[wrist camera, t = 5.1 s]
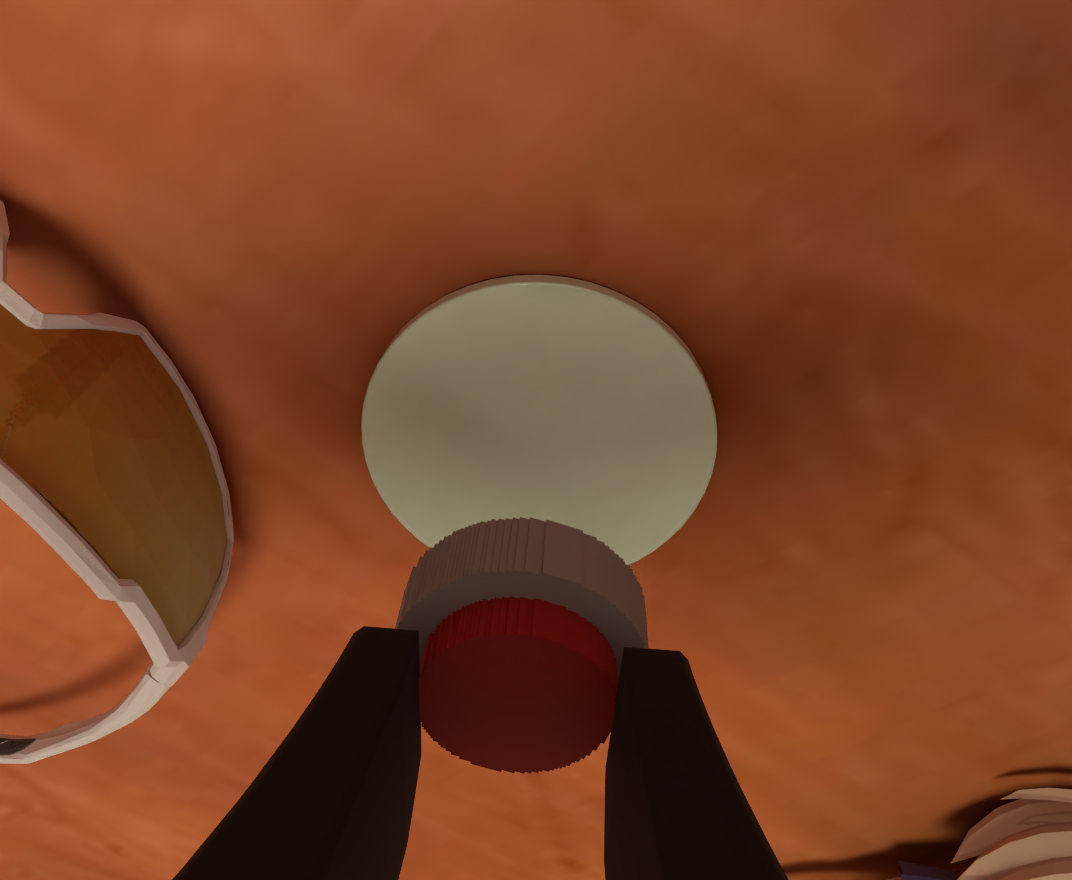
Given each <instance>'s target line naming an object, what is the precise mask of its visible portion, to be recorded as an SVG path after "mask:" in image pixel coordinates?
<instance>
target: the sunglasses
mask: <svg viewBox="0 0 1072 880" xmlns="http://www.w3.org/2000/svg"><path fill="white" fill-rule="evenodd" d="M9 235H10V231H9V226H8V221H7V216H6V211H5V205H4V203H3V202H2V201H1V200H0V498H1V499H2V500H3V501H4V502H5V503H6V504H7V505H8V506H9V507H10V508H11V509H13V510H14V511H15V512H16V513H17V514H18V515H19V516H20V517H21V518H22V519H23V520H25V521H26V522H27V523H28V524H29V525H30V526H31V527H32V528H33V529H34V530H35V531H36V532H37V533H38V534H39V535H40V536H41V537H42V538H43V539H44V540H45V541H46V542H47V543H48V544H49V545H50V546H51V547H52V548H53V549H54V550H55V551H56V552H57V553H58V554H59V555H60V557H61V558H62V559H63V560H64V561H65V562H66V563H67V564H68V565H69V566H70V567H71V568H72V569H73V570H74V571H75V572H76V573H77V574H78V575H79V576H80V577H81V578H82V579H83V580H84V581H85V582H86V583H87V585H88V586H89V587H90V588H91V589H92V591H93V592H94V593H95V594H96V595H97V597H98V598H99V599H104V600H112V601H116V603H117V604H118V605H119V607H120V608H121V610H122V611H123V612H124V614H125V615H126V617H127V618H128V619H129V621H130V622H131V624H132V625H133V626H134V628H135V629H136V631H137V633H138V635H139V637H140V639H141V640H142V642H143V644H144V646H145V648H146V650H147V651H148V653H149V655H150V657H151V659H152V661H153V662H152V663H151V665H150V666H149V668H148V669H147V670H146V672H145V673H144V674H143V676H142V677H141V679H140V680H139V681H138V683H137V684H136V685H135V687H134V688H133V689H132V691H131V692H130V693H129V694H128V695H127V696H126V698H124V699H123V700H122V701H121V702H120V703H118V704H117V705H116V706H115V707H114V708H112V709H111V710H110V711H108V712H106V713H103V714H101V715H98V716H95V717H92V718H89V719H87V720H82V721H77V722H71V723H69V724H66V725H64V726H61V727H59V728H56V729H54V730H52V731H49V732H45V733H41V734H36V735H32V736H28V737H27V736H15V735H4V734H0V763H1V764H29V763H32V762H35V761H38V760H41V759H44V758H47V757H50V756H53V755H56V754H59V753H62V752H65V751H68V750H71V749H74V748H77V747H80V746H83V745H86V744H88V743H90V742H93V741H95V740H97V739H99V738H101V737H103V736H105V735H107V734H109V733H111V732H113V731H115V730H117V729H119V728H121V727H123V726H125V725H127V724H129V723H131V722H133V721H134V720H136V719H137V718H139V717H140V716H142V715H143V714H145V713H146V712H147V711H148V710H149V709H150V708H151V707H152V706H153V705H154V704H155V703H156V702H158V700H159V699H160V698H161V697H162V696H163V695H164V693H165V692H166V691H167V690H168V689H169V688H170V686H172V685H173V684H174V683H175V682H176V681H177V680H178V679H179V677H180V676H181V675H182V674H183V673H184V672H185V671H186V670H187V669H188V667H189V666H190V665H191V663H192V662H193V660H194V659H195V657H196V656H197V654H198V653H199V651H200V650H201V648H202V647H203V645H204V644H205V642H206V637H207V630H208V627H209V625H210V622H211V620H212V617H213V615H214V612H215V610H216V607H217V605H218V602H219V600H220V598H221V595H222V593H223V590H224V588H225V585H226V583H227V580H228V574H229V568H230V562H231V556H232V550H233V544H234V529H233V520H232V512H231V503H230V494H229V490H228V486H227V483H226V479H225V476H224V472H223V469H222V465H221V462H220V458H219V455H218V451H217V447H216V444H215V442H214V440H213V437H212V435H211V433H210V431H209V428H208V426H207V424H206V422H205V420H204V417H203V415H202V413H201V411H200V409H199V406H198V404H197V402H196V400H195V398H194V396H193V394H192V393H191V391H190V390H189V388H188V386H187V385H186V383H185V382H184V380H183V378H182V377H181V375H180V374H179V372H178V370H177V369H176V367H175V366H174V364H173V362H172V361H171V360H170V358H169V357H168V356H167V354H166V353H165V352H164V351H163V349H162V348H161V347H160V345H159V344H158V343H157V342H156V340H155V339H154V338H153V337H152V335H151V334H150V333H149V331H148V330H147V329H146V328H145V327H144V326H142V325H141V324H140V323H138V322H137V321H134V320H130V319H126V318H121V317H117V316H113V315H109V314H104V313H96V314H91V315H77V314H57V313H42V312H40V311H39V310H38V309H37V308H36V307H35V306H33V305H32V304H31V303H30V302H29V301H28V300H26V299H25V298H24V297H23V296H22V295H20V294H19V293H18V292H17V291H16V290H15V289H13V288H12V287H11V286H10V285H9V284H7V243H8V239H9Z"/></svg>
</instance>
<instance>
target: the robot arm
mask: <svg viewBox="0 0 1072 880" xmlns="http://www.w3.org/2000/svg"><path fill="white" fill-rule="evenodd" d="M419 676H420V668H419V631H417V630H404V629H391V628H378V627H366V626H364V627H362V628H361V629H359V630H358V631H356V632H355V633H354V634H353V636H352V637H351V639H350V641H349V643H348V644H347V646H346V648H345V650H344V651H343V653H342V654H341V656H340V658H339V659H338V661H337V663H336V664H335V666H334V667H333V669H332V671H331V672H330V674H329V675H328V677H327V678H326V680H325V681H324V683H323V685H322V686H321V688H320V689H319V691H318V692H317V694H316V695H315V697H314V698H313V699H312V701H311V702H310V704H309V705H308V707H307V708H306V710H305V711H304V712H303V714H302V715H301V717H300V718H299V720H298V721H297V723H296V724H295V725H294V727H293V728H292V730H291V731H290V732H289V734H288V735H287V737H286V738H285V739H284V741H283V742H282V743H281V745H280V746H279V747H278V749H277V750H276V751H275V753H274V754H273V755H272V757H271V758H270V759H269V761H268V762H267V763H266V765H265V766H264V767H263V769H262V770H261V771H260V773H259V774H258V775H257V777H256V778H255V779H254V781H253V782H252V784H251V785H250V786H249V787H248V789H247V790H246V791H245V793H244V794H243V795H242V796H241V798H240V799H239V800H238V801H237V803H236V804H235V805H234V806H233V808H232V809H231V810H230V811H229V812H228V814H227V815H226V816H225V817H224V818H223V820H222V821H221V822H220V823H219V825H218V826H217V827H216V828H215V829H214V831H213V832H212V833H211V834H210V835H209V837H208V838H207V839H206V840H205V841H204V843H203V844H202V845H201V846H200V848H199V849H198V850H197V851H196V852H195V854H194V855H193V856H192V857H191V858H190V860H189V861H188V862H187V863H186V864H185V866H184V867H183V868H182V869H181V870H180V871H179V873H178V874H177V875H176V876H175V877H174V878H173V880H398V879H399V875H400V871H401V867H402V863H403V859H404V855H405V851H406V847H407V842H408V836H409V830H410V824H411V817H412V811H413V805H414V799H415V792H416V785H417V779H418V772H419V766H420V759H421V721H420V718H419ZM604 865H605V878H606V880H788V878H787V876H786V875H785V873H784V871H783V869H782V867H781V865H780V863H779V862H778V860H777V858H776V856H775V854H774V852H773V850H772V849H771V847H770V845H769V843H768V841H767V839H766V837H765V835H764V833H763V831H762V829H761V827H760V825H759V823H758V821H757V819H756V817H755V815H754V813H753V811H752V809H751V807H750V805H749V803H748V801H747V799H746V797H745V795H744V793H743V791H742V789H741V787H740V785H739V783H738V781H737V779H736V777H735V775H734V773H733V770H732V768H731V766H730V764H729V762H728V760H727V757H726V755H725V753H724V751H723V748H722V746H721V744H720V742H719V739H718V737H717V735H716V732H715V730H714V728H713V725H712V723H711V721H710V718H709V716H708V713H707V711H706V708H705V706H704V703H703V701H702V698H701V696H700V693H699V690H698V688H697V685H696V682H695V679H694V677H693V674H692V671H691V668H690V665H689V661H688V659H687V658H686V657H685V656H684V655H683V654H682V653H681V652H680V651H671V650H658V649H645V648H633V647H624V648H623V654H622V661H621V668H620V675H619V681H618V688H617V697H616V707H615V714H614V721H613V727H612V730H611V735H610V742H609V749H608V756H607V762H606V773H605V834H604Z"/></svg>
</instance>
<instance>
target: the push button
mask: <svg viewBox="0 0 1072 880" xmlns="http://www.w3.org/2000/svg"><path fill="white" fill-rule="evenodd" d="M395 629H404V630H417V631H419V668H420V676H419V718H420V721H421V722H422V725H421V726H422V727H424V729H425V730H426V732H428V735H431V738H433V741H436V742H438V744H439V745H441V746H440V747H442V748H446V751H449V752H451V754H452V755H456V756H460V757H459V759H463V760H467V761H470V762H471V764H474V765H477V766H481V767H485V768H489V769H492V770H496V771H500V772H501V770H504V771H508V772H512V773H514V772H515V771H516V772H520V773H524V772H528V773H531V772H536V773H538V772H539V771H541V772H542V771H543V770H545V771H550V770H554V769H558V768H562V766H563V767H566V765H567V766H570V764H571V762H573V763H575V762H576V761H577V762H579V761H580V759H581V758H583V759H584V758H585V756H586V755H588V756H590V754H591V752H592V750H595V751H596V750H597V748H598V746H599V745H600V743H604V742H605V740H606V739H607V737H608V735H609V734H610V732H611V730H612V727H613V721H614V714H615V707H616V697H617V688H618V681H619V675H620V668H621V661H622V654H623V648H624V647H633V648H645V649H648V639H647V624H646V611H645V601H644V595H643V594H642V587H640V584H639V581H637V578H635V575H634V574H633V572H632V569H630V566H628V565H625V562H624V559H623V558H619V555H618V554H615V553H614V550H610V549H609V546H606V545H605V542H601V541H598V540H597V537H594V536H591V535H587V534H584V533H583V530H580V529H576V528H573V527H570V526H567V525H563V524H560V523H557V522H554V521H550V520H546V522H545V521H541V520H538V519H535V518H532V517H530V519H526V518H523V517H520V518H519V519H517V518H514V517H513V519H508V518H506V519H505V520H503V519H500V518H499V519H498V521H497V520H494V519H492V520H491V521H489V520H488V521H487V523H486V522H483V521H481V522H480V523H478V522H477V523H476V525H475V524H473V525H472V526H470V525H469V526H468V527H465V528H464V529H463V528H461V529H460V530H457V531H456V532H455V531H453V533H452V535H448V537H446V536H444V539H443V541H442V540H439V543H438V544H435V545H434V548H432V547H430V550H429V551H426V552H425V554H424V557H420V559H419V562H418V565H417V567H413V570H412V572H411V575H410V578H409V581H408V584H407V587H406V589H405V592H404V596H403V600H402V604H401V608H400V611H399V615H398V619H397V623H396V627H395Z"/></svg>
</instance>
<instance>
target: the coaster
mask: <svg viewBox="0 0 1072 880" xmlns="http://www.w3.org/2000/svg"><path fill="white" fill-rule="evenodd" d="M361 437H362V446H363V451H364V456H365V461H366V464H367V467H368V470H369V473H370V475H371V478H372V481H373V483H374V485H375V487H376V489H377V491H378V492H379V494H380V496H381V498H382V499H383V501H384V502H385V504H386V505H387V507H388V508H389V510H390V511H391V513H392V514H393V515H394V516H395V517H396V518H397V519H398V521H399V522H400V523H401V524H402V525H403V526H404V527H405V528H406V529H407V530H408V531H409V532H410V533H411V534H412V535H414V536H415V537H416V538H417V539H418V540H419V541H420V542H422V543H423V544H425V545H426V546H428V547H429V548H430V547H432V548H434V545H435V544H438V543H439V540H442V541H443V539H444V536H446V537H448V535H452V533H453V531H455V532H456V531H457V530H460V529H461V528H463V529H464V528H465V527H468V526H469V525H470V526H472V525H473V524H475V525H476V523H477V522H478V523H480V522H481V521H483V522H486V523H487V521H488V520H489V521H491V520H492V519H494V520H497V521H498V519H499V518H500V519H503V520H505V519H506V518H508V519H513V517H514V518H517V519H519V518H520V517H523V518H526V519H530V517H532V518H535V519H538V520H541V521H545V522H546V520H550V521H554V522H557V523H560V524H563V525H567V526H570V527H573V528H576V529H580V530H583V533H584V534H587V535H591V536H594V537H597V540H598V541H601V542H605V545H606V546H609V549H610V550H614V553H615V554H618V555H619V558H623V559H624V562H625V565H630V564H632V563H634V562H636V561H638V560H640V559H641V558H643V557H645V556H647V555H648V554H650V553H652V552H653V551H655V550H656V549H657V548H658V547H660V546H661V545H662V544H664V543H665V542H666V541H668V540H669V539H670V538H671V537H672V536H673V535H674V534H675V533H676V532H677V531H678V530H679V529H680V528H681V527H682V526H683V525H684V524H685V522H686V521H687V520H688V518H689V517H690V516H691V515H692V513H693V512H694V511H695V509H696V507H697V506H698V504H699V502H700V500H701V499H702V497H703V495H704V493H705V491H706V489H707V486H708V484H709V481H710V478H711V476H712V473H713V468H714V464H715V459H716V455H717V439H718V432H717V421H716V413H715V408H714V404H713V400H712V396H711V393H710V389H709V386H708V383H707V381H706V379H705V376H704V374H703V372H702V369H701V367H700V365H699V364H698V362H697V361H696V359H695V357H694V356H693V354H692V352H691V351H690V349H689V348H688V347H687V345H686V344H685V343H684V342H683V341H682V340H681V338H680V337H679V336H678V335H677V334H676V332H675V331H674V330H673V329H671V328H670V327H669V326H668V325H667V324H666V323H665V322H664V321H663V320H661V319H660V318H659V317H658V316H657V315H656V314H654V313H653V312H651V311H650V310H648V309H647V308H645V307H644V306H642V305H641V304H639V303H638V302H636V301H634V300H632V299H630V298H628V297H626V296H624V295H622V294H620V293H618V292H616V291H614V290H611V289H608V288H606V287H603V286H600V285H597V284H594V283H591V282H587V281H582V280H578V279H573V278H569V277H561V276H551V275H515V276H508V277H502V278H496V279H490V280H486V281H483V282H479V283H476V284H473V285H469V286H466V287H464V288H462V289H459V290H457V291H455V292H452V293H450V294H448V295H446V296H444V297H442V298H440V299H439V300H437V301H435V302H434V303H432V304H431V305H429V306H427V307H426V308H424V309H423V310H422V311H421V312H419V313H418V314H417V315H416V316H414V317H413V318H412V319H411V320H410V321H408V322H407V323H406V324H405V325H404V327H403V328H402V329H401V330H400V331H399V332H398V333H397V334H396V335H395V336H394V338H393V339H392V340H391V342H390V343H389V345H388V346H387V348H386V349H385V351H384V352H383V354H382V355H381V357H380V359H379V361H378V363H377V366H376V368H375V370H374V372H373V374H372V376H371V379H370V381H369V384H368V387H367V391H366V394H365V398H364V401H363V409H362V417H361Z"/></svg>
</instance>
